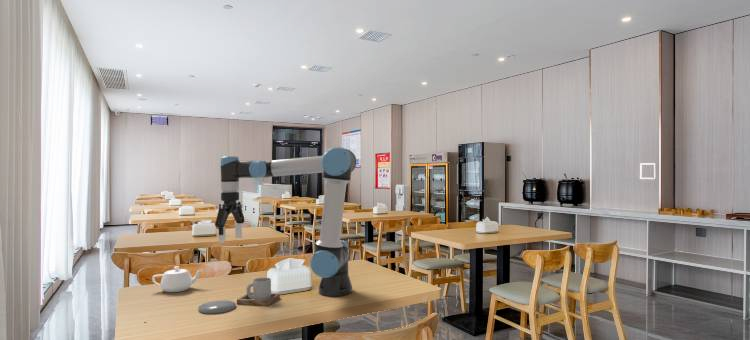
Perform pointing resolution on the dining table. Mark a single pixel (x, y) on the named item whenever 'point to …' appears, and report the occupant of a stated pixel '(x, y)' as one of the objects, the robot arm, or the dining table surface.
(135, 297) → the dining table surface
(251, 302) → the brown wooden tray
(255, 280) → the cup
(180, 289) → the teapot
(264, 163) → the robot arm
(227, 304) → the coaster
